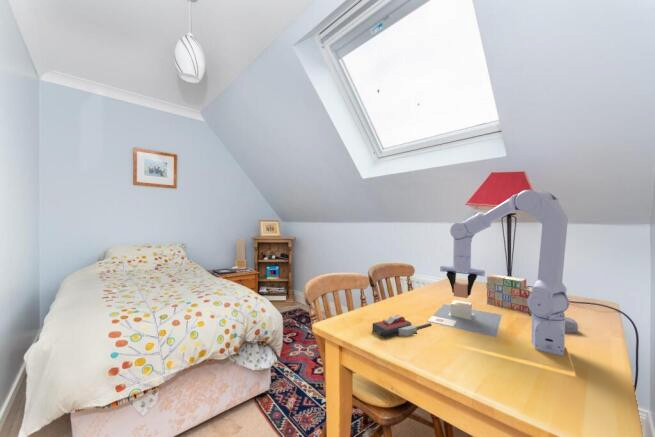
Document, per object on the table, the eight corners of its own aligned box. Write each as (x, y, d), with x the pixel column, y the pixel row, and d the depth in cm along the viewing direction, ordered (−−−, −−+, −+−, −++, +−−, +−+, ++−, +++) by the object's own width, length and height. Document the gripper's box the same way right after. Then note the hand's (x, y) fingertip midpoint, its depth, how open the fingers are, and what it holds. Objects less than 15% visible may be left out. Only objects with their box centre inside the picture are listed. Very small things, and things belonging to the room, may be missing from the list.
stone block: (547, 337, 89) (582, 334, 87) (543, 322, 89) (579, 318, 87) (528, 325, 100) (559, 321, 99) (525, 311, 101) (555, 308, 99)
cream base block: (468, 318, 97) (469, 307, 97) (450, 314, 100) (450, 303, 100) (471, 313, 102) (471, 303, 102) (453, 310, 105) (454, 300, 105)
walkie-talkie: (387, 343, 79) (433, 329, 90) (387, 328, 79) (433, 316, 90) (367, 332, 87) (412, 321, 97) (368, 318, 87) (412, 308, 97)
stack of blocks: (554, 316, 103) (555, 283, 103) (549, 320, 99) (549, 285, 99) (493, 302, 120) (493, 273, 120) (486, 304, 117) (486, 275, 117)
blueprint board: (496, 339, 82) (496, 336, 82) (426, 324, 93) (426, 321, 93) (501, 317, 101) (501, 314, 101) (443, 306, 113) (443, 304, 113)
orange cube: (467, 298, 98) (467, 285, 98) (453, 296, 100) (453, 283, 100) (469, 295, 101) (469, 283, 101) (456, 293, 104) (456, 281, 104)
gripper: (486, 256, 100) (485, 294, 100) (443, 253, 108) (443, 288, 108) (483, 258, 94) (483, 299, 94) (439, 255, 103) (438, 291, 103)
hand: (461, 293), depth 101 cm, fingers closed on orange cube, 4 cm apart
